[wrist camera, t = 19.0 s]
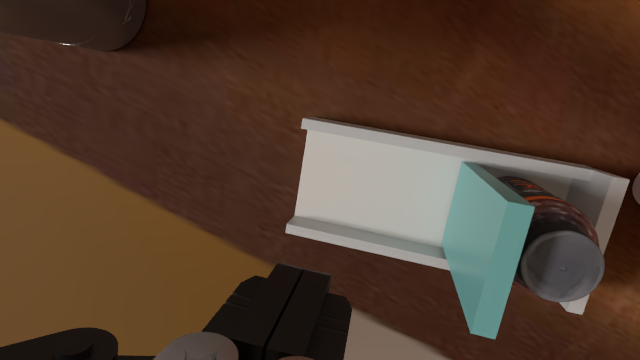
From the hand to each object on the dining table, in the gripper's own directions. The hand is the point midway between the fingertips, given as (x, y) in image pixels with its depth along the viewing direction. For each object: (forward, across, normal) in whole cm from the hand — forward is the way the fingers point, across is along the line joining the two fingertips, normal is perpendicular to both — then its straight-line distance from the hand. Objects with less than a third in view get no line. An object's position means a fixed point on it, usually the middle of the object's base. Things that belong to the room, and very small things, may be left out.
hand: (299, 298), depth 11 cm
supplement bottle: (+22, -12, +1) cm, 25 cm away
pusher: (+22, -9, +1) cm, 24 cm away
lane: (+23, -6, +2) cm, 24 cm away
